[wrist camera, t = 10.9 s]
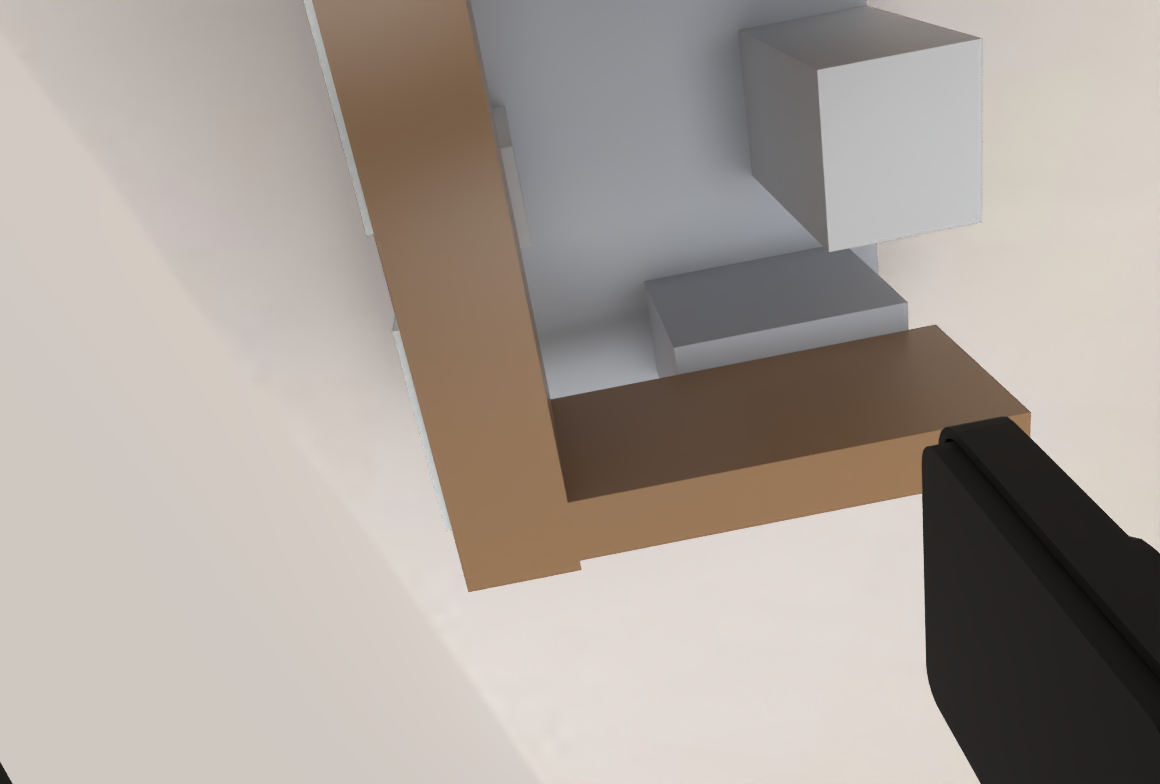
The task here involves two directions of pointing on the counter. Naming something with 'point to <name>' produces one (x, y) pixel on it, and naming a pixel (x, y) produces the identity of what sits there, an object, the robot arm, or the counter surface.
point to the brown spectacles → (603, 417)
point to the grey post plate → (722, 172)
